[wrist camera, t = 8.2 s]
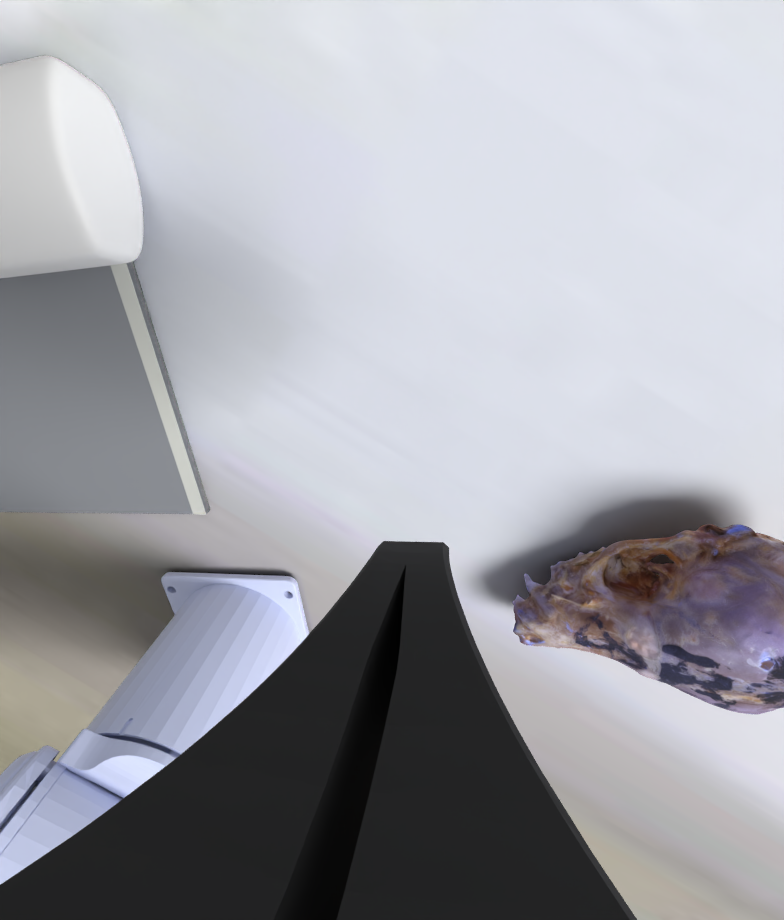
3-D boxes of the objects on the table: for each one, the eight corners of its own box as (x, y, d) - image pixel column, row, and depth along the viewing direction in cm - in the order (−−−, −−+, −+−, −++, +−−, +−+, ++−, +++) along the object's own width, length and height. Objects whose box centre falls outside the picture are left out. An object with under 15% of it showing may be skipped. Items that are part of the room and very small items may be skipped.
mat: (210, 509, 22) (205, 514, 22) (-43, 507, 25) (-51, 511, 25) (121, 224, 17) (113, 224, 16) (-193, 261, 20) (-206, 261, 19)
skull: (510, 631, 23) (524, 749, 18) (504, 510, 20) (518, 608, 15) (767, 632, 21) (873, 768, 16) (806, 495, 18) (957, 606, 12)
